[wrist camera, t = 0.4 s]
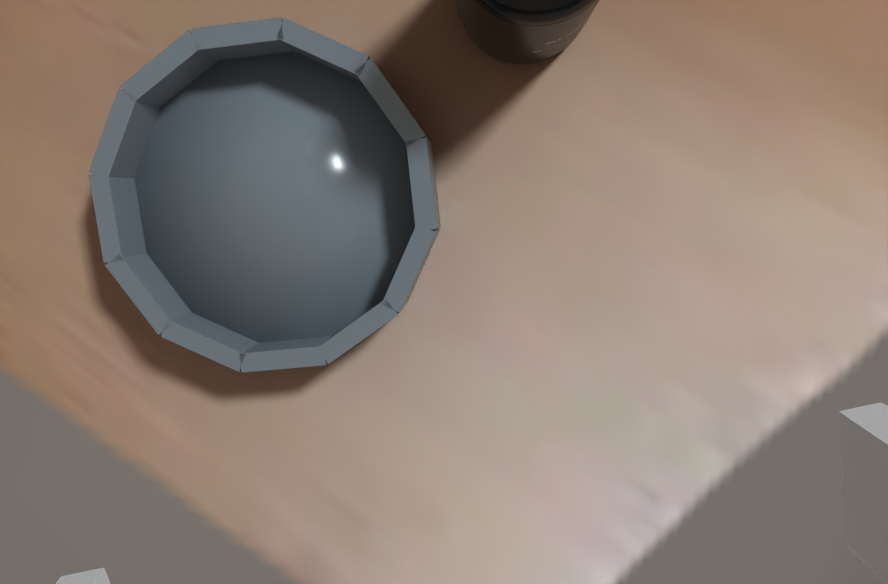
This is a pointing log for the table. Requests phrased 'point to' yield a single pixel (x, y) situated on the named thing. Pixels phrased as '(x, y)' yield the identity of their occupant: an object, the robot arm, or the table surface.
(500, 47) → the supplement bottle
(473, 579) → the table surface
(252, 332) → the bowl
